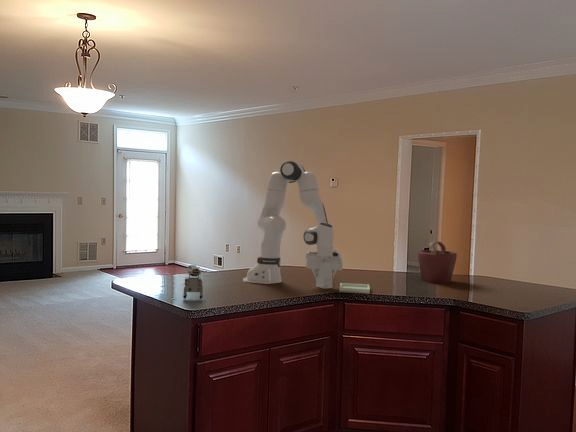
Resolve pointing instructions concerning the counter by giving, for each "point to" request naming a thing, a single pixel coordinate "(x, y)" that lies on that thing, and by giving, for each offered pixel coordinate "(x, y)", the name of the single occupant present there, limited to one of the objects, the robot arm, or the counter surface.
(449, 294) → the counter surface
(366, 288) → the sage tray
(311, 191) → the robot arm
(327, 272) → the skincare box
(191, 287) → the figurine
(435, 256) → the bucket
